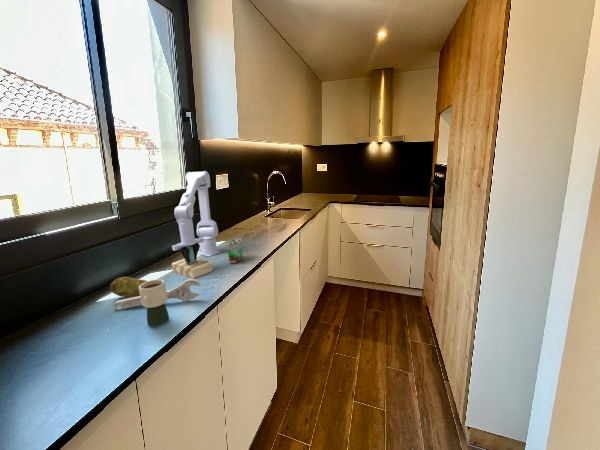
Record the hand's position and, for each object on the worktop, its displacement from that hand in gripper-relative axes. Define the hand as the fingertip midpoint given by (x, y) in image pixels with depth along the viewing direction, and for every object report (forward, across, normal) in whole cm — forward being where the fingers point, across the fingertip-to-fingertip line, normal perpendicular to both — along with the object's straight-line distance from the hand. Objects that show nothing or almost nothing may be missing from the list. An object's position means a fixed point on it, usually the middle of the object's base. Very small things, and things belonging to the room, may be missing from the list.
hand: (191, 261), depth 129 cm
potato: (+5, -27, -2) cm, 27 cm away
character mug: (+5, -31, -29) cm, 43 cm away
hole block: (+5, 0, 0) cm, 5 cm away
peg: (+3, 0, 0) cm, 3 cm away
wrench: (+5, -25, -17) cm, 31 cm away
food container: (+5, +20, -8) cm, 22 cm away
